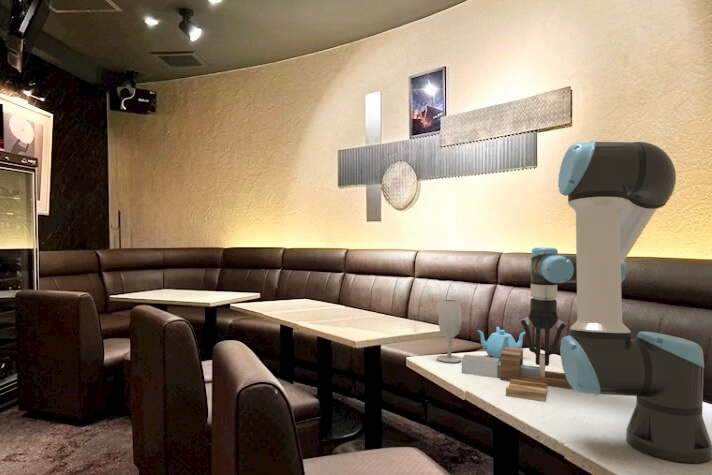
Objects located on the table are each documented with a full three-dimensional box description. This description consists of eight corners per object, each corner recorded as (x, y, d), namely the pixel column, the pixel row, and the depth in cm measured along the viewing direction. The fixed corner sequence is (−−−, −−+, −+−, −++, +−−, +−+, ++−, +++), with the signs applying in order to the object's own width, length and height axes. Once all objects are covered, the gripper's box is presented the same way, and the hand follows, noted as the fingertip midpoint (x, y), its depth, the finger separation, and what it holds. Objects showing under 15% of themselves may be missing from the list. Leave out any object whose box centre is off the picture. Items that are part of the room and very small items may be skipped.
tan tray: (544, 401, 130) (545, 393, 130) (505, 395, 134) (505, 388, 134) (546, 390, 139) (547, 383, 139) (510, 385, 143) (510, 378, 143)
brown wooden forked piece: (589, 391, 139) (590, 363, 139) (500, 379, 149) (500, 353, 149) (588, 382, 149) (589, 355, 148) (504, 371, 159) (505, 346, 159)
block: (499, 374, 156) (499, 358, 156) (497, 378, 152) (497, 362, 152) (464, 369, 161) (465, 354, 161) (461, 373, 156) (461, 357, 156)
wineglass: (465, 359, 173) (466, 300, 173) (456, 364, 166) (457, 302, 166) (442, 356, 178) (443, 298, 178) (432, 360, 171) (433, 300, 171)
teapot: (497, 352, 186) (497, 325, 186) (528, 359, 175) (529, 331, 175) (475, 357, 178) (476, 329, 178) (507, 364, 167) (507, 335, 167)
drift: (539, 379, 151) (540, 366, 151) (538, 382, 147) (539, 369, 147) (499, 374, 156) (499, 362, 156) (497, 377, 152) (497, 364, 152)
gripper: (567, 298, 150) (565, 375, 150) (522, 295, 155) (521, 370, 155) (566, 301, 143) (565, 382, 143) (519, 298, 149) (518, 376, 149)
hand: (542, 375), depth 149 cm, fingers closed
